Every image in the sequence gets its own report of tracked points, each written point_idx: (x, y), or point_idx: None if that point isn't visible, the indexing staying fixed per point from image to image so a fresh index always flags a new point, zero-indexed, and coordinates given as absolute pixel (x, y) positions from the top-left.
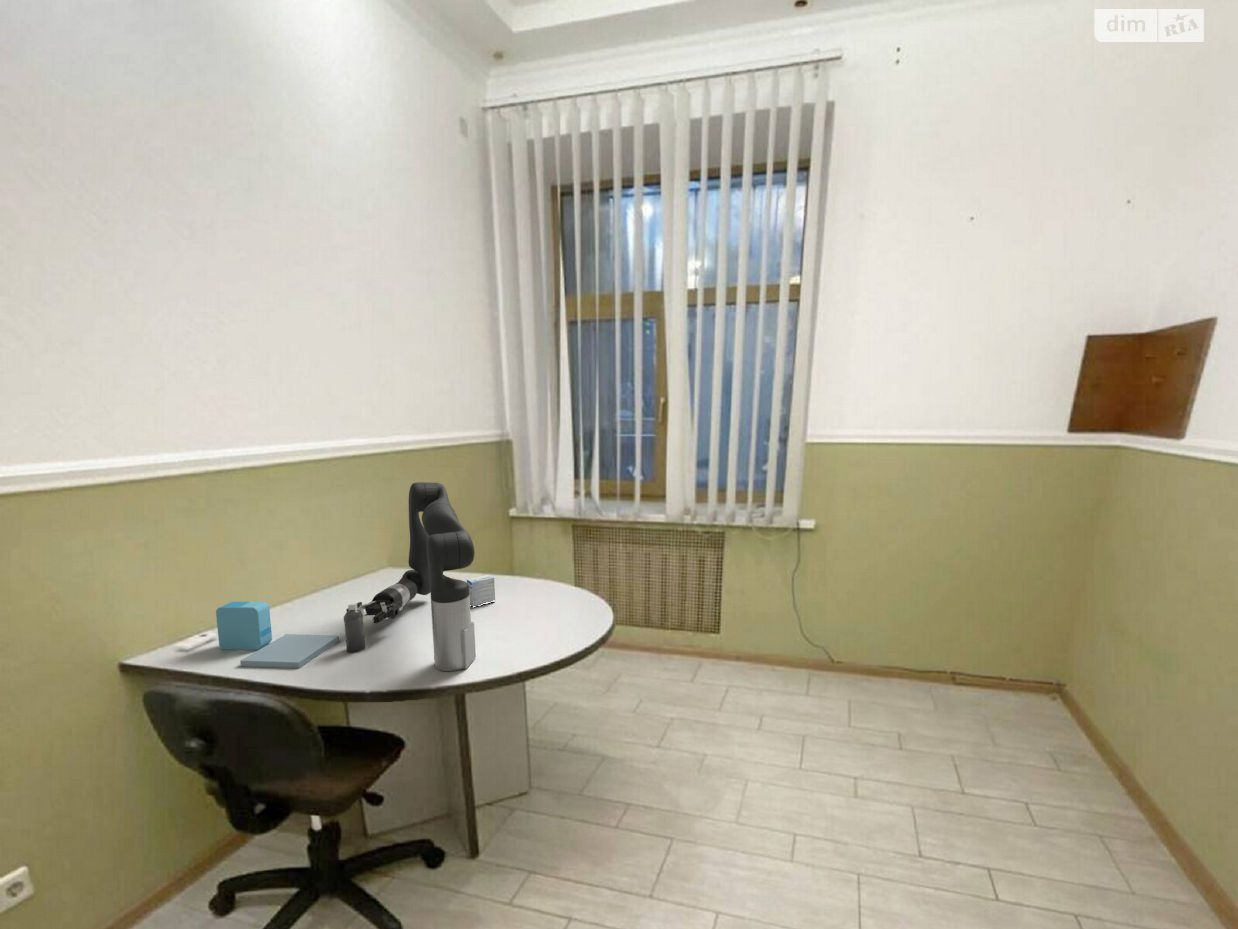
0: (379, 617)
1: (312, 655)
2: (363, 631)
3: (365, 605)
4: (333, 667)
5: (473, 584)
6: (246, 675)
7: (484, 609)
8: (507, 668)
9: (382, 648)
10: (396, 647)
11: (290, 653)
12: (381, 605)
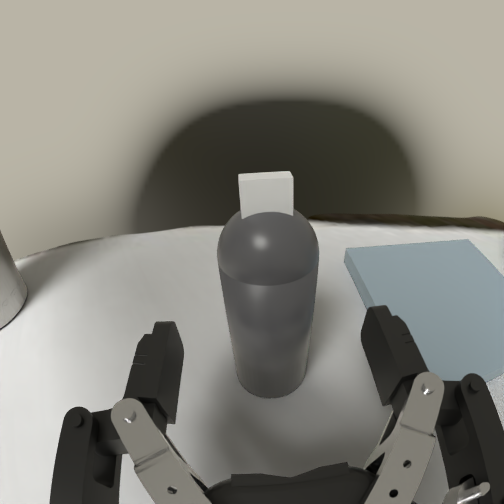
0: (142, 338)
1: (362, 286)
2: (229, 331)
3: (388, 463)
4: None
5: None
6: (415, 234)
7: None
8: None
9: None
10: (115, 391)
11: (420, 272)
12: (195, 492)
